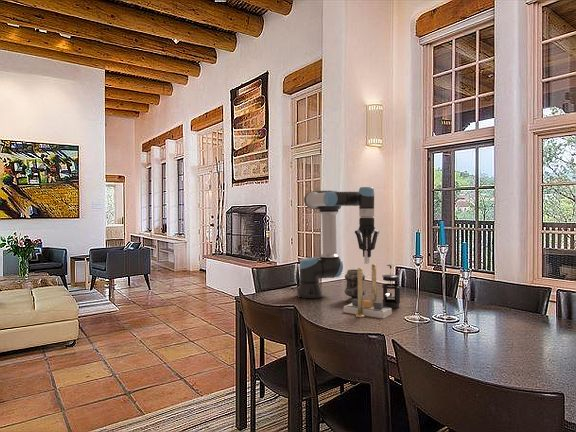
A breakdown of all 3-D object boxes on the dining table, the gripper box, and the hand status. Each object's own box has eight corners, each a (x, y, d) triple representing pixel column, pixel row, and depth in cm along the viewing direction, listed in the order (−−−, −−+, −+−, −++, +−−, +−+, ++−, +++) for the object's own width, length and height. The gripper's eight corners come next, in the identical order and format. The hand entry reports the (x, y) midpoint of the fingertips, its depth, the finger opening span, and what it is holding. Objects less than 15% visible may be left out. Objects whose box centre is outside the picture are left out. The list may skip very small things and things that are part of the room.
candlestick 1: (354, 316, 207) (353, 268, 207) (358, 314, 211) (358, 267, 210) (362, 318, 205) (361, 269, 204) (366, 316, 208) (365, 268, 208)
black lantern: (377, 305, 230) (377, 264, 229) (391, 303, 234) (391, 262, 233) (391, 310, 219) (391, 266, 219) (405, 308, 223) (405, 265, 223)
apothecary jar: (364, 298, 247) (364, 268, 247) (366, 303, 235) (366, 271, 235) (344, 298, 248) (343, 268, 248) (344, 303, 236) (344, 271, 236)
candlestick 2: (368, 310, 220) (368, 264, 220) (372, 308, 224) (371, 263, 223) (376, 311, 218) (375, 265, 217) (379, 309, 221) (379, 264, 221)
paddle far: (373, 308, 211) (373, 302, 211) (375, 307, 213) (375, 301, 213) (381, 309, 208) (381, 303, 208) (383, 308, 210) (382, 302, 210)
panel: (343, 312, 217) (343, 305, 217) (352, 308, 225) (352, 301, 225) (383, 318, 204) (383, 311, 204) (391, 314, 212) (391, 307, 212)
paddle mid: (362, 306, 214) (362, 300, 214) (364, 305, 216) (364, 300, 216) (369, 307, 212) (369, 301, 212) (372, 306, 214) (372, 300, 214)
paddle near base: (352, 305, 218) (352, 299, 218) (354, 304, 220) (354, 298, 220) (359, 306, 216) (359, 300, 215) (361, 305, 217) (361, 299, 217)
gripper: (351, 217, 214) (352, 263, 215) (375, 217, 206) (375, 265, 207) (358, 216, 220) (358, 261, 221) (381, 217, 212) (381, 263, 213)
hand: (366, 263), depth 214 cm, fingers closed
